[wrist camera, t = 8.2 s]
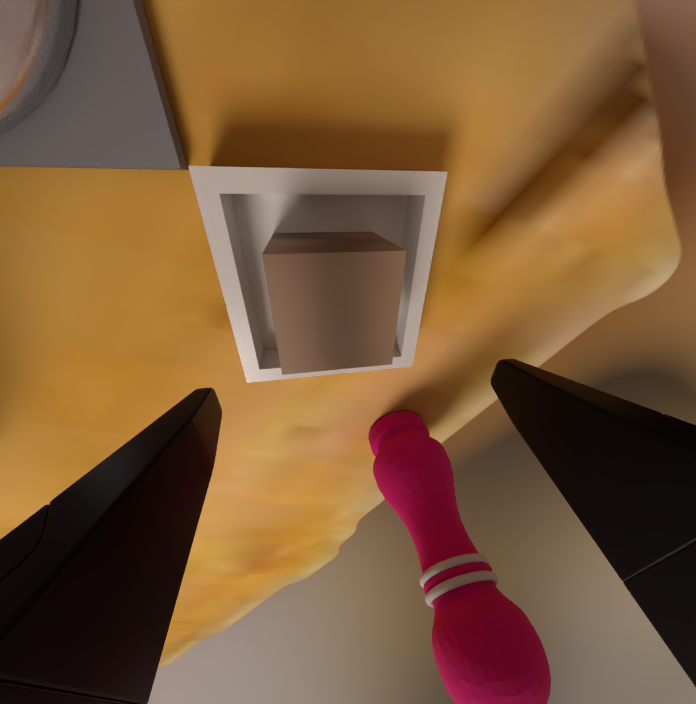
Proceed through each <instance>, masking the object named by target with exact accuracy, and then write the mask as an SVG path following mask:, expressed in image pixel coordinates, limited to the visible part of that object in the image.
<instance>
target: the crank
mask: <svg viewBox="0 0 696 704" xmlns="http://www.w3.org/2000/svg"><path fill="white" fill-rule="evenodd" d="M76 3H77V0H0V134H2V133H4V132H7V131H9V130H11V129H13V128H14V127H15V126H17V125H18V124H19V123H21V122H22V121H23V120H25V119H26V118H28V117H29V116H30V115H32V114H33V112H34V111H35V110H36V109H37V108H38V107H39V105H40V104H41V103H42V102H43V101H44V100H45V98H46V97H47V96H48V95H49V94H50V92H51V90H52V88H53V86H54V84H55V82H56V80H57V78H58V76H59V74H60V72H61V71H62V69H63V66H64V63H65V59H66V56H67V52H68V49H69V46H70V42H71V39H72V35H73V27H74V19H75V11H76Z"/></svg>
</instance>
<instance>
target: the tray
mask: <svg viewBox="0 0 696 704" xmlns="http://www.w3.org/2000/svg"><path fill="white" fill-rule="evenodd" d="M188 167H189V171H190V174H191V178H192V182H193V185H194V189H195V193H196V196H197V200H198V204H199V208H200V211H201V215H202V219H203V222H204V226H205V230H206V233H207V237H208V241H209V244H210V248H211V252H212V256H213V259H214V263H215V267H216V270H217V274H218V278H219V281H220V285H221V289H222V292H223V296H224V300H225V303H226V307H227V311H228V315H229V318H230V322H231V326H232V329H233V333H234V337H235V340H236V344H237V348H238V351H239V355H240V359H241V363H242V366H243V370H244V374H245V377H246V381H247V383H250V382H260V381H270V380H280V379H290V378H300V377H311V376H321V375H331V374H341V373H351V372H361V371H371V370H381V369H391V368H401V367H412V366H413V360H414V355H415V349H416V344H417V338H418V333H419V327H420V322H421V316H422V311H423V305H424V300H425V294H426V289H427V283H428V278H429V272H430V267H431V261H432V256H433V250H434V245H435V239H436V234H437V228H438V223H439V217H440V212H441V206H442V201H443V195H444V190H445V184H446V179H447V173H448V172H441V171H396V170H352V169H307V168H262V167H218V166H188ZM309 232H373V233H375V234H377V235H379V236H381V237H383V238H384V239H386V240H388V241H390V242H392V243H393V244H395V245H397V246H399V247H401V248H403V249H404V250H406V259H405V267H404V275H403V282H402V290H401V298H400V306H399V314H398V321H397V329H396V337H395V345H394V353H393V361H392V364H391V365H380V366H370V367H359V368H349V369H338V370H328V371H318V372H307V373H297V374H286V375H282V371H281V365H280V359H279V353H278V347H277V341H276V335H275V329H274V324H273V318H272V312H271V306H270V300H269V294H268V288H267V282H266V276H265V270H264V264H263V258H262V253H263V251H264V250H265V248H266V246H267V244H268V242H269V240H270V238H271V237H272V235H273V233H309Z"/></svg>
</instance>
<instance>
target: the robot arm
mask: <svg viewBox="0 0 696 704" xmlns="http://www.w3.org/2000/svg"><path fill="white" fill-rule="evenodd" d="M491 385H492V387H493V389H494V391H495V393H496V395H497V396H498V398H499V400H500V401H501V403H502V405H503V407H504V409H505V410H506V412H507V414H508V416H509V418H510V419H511V421H512V423H513V424H514V426H515V427H516V429H517V430H518V432H519V433H520V435H521V436H522V437H523V439H524V440H525V442H526V443H527V445H528V446H529V447H530V449H531V450H532V452H533V453H534V455H535V456H536V458H537V459H538V461H539V462H540V463H541V465H542V466H543V468H544V469H545V471H546V472H547V473H548V475H549V476H550V478H551V479H552V481H553V482H554V484H555V485H556V486H557V488H558V489H559V491H560V492H561V494H562V495H563V496H564V498H565V499H566V501H567V502H568V504H569V505H570V506H571V508H572V509H573V511H574V512H575V514H576V515H577V517H578V518H579V519H580V521H581V522H582V524H583V525H584V527H585V528H586V530H587V531H588V532H589V534H590V535H591V537H592V538H593V540H594V541H595V542H596V544H597V545H598V547H599V548H600V549H601V551H602V552H603V554H604V555H605V557H606V558H607V560H608V561H609V563H610V564H611V565H612V567H613V568H614V570H615V571H616V573H617V574H618V576H619V577H620V578H621V579H622V581H624V584H625V586H626V587H627V589H628V590H629V592H630V593H631V595H632V596H633V598H634V599H635V600H636V602H637V603H638V605H639V606H640V608H641V609H642V610H643V612H644V613H645V615H646V616H647V618H648V619H649V621H650V622H651V623H652V625H653V626H654V628H655V629H656V631H657V632H658V634H659V635H660V636H661V638H662V639H663V641H664V642H665V644H666V645H667V647H668V648H669V649H670V651H671V652H672V654H673V655H674V657H675V658H676V659H677V661H678V662H679V664H680V665H681V666H682V668H683V670H684V671H685V672H686V674H687V675H688V677H689V678H690V680H691V681H692V682H693V684H694V685H695V687H696V425H693V424H691V423H688V422H685V421H682V420H680V419H677V418H674V417H672V416H669V415H665V414H664V415H663V414H662V413H660V412H658V411H655V410H652V409H649V408H646V407H644V406H641V405H638V404H636V403H633V402H630V401H627V400H625V399H622V398H619V397H617V396H614V395H611V394H608V393H605V392H603V391H600V390H597V389H595V388H592V387H589V386H586V385H583V384H581V383H578V382H575V381H573V380H570V379H567V378H564V377H562V376H559V375H556V374H553V373H551V372H548V371H545V370H543V369H539V368H537V367H534V366H532V365H529V364H526V363H523V362H521V361H518V360H515V359H502V360H500V361H499V362H498V363H497V365H496V367H495V370H494V372H493V375H492V377H491ZM221 418H222V410H221V406H220V404H219V401H218V398H217V395H216V393H215V391H214V389H213V388H201V389H196V390H195V391H193V392H192V393H191V394H189V395H188V396H187V397H185V398H184V399H183V400H182V401H180V402H179V403H178V404H176V405H175V406H174V407H172V408H171V409H170V410H169V411H167V412H166V413H165V414H163V415H162V416H161V417H159V418H158V419H157V420H156V421H154V422H153V423H152V424H150V425H149V426H148V427H146V428H145V429H144V430H143V431H141V432H140V433H139V434H137V435H136V436H135V437H133V438H132V439H131V440H130V441H128V442H127V443H126V444H124V445H123V446H122V447H120V448H119V449H118V450H117V451H115V452H114V453H113V454H111V455H110V456H109V457H107V458H106V459H105V460H104V461H102V462H101V463H100V464H98V465H97V466H96V467H94V468H93V469H92V470H91V471H89V472H88V473H87V474H85V475H84V476H83V477H81V478H80V479H79V480H78V481H76V482H75V483H74V484H72V485H71V486H70V487H68V488H67V489H66V490H65V491H63V492H62V493H61V494H59V495H58V496H57V497H55V498H54V499H53V500H52V501H51V502H50V505H45V506H44V507H42V508H41V509H40V510H38V511H37V512H36V513H35V514H33V515H32V516H31V517H29V518H28V519H27V520H25V521H24V522H23V523H22V524H20V525H19V526H18V527H16V528H15V529H14V530H12V531H11V532H10V533H8V534H7V535H6V536H4V537H3V538H2V539H0V704H147V703H148V700H149V697H150V693H151V690H152V686H153V682H154V679H155V675H156V672H157V668H158V665H159V661H160V657H161V654H162V650H163V647H164V643H165V640H166V636H167V632H168V629H169V625H170V622H171V618H172V614H173V611H174V607H175V604H176V600H177V597H178V593H179V589H180V586H181V582H182V579H183V575H184V572H185V568H186V564H187V561H188V557H189V554H190V550H191V547H192V543H193V539H194V536H195V532H196V529H197V525H198V521H199V518H200V514H201V511H202V507H203V504H204V500H205V496H206V493H207V489H208V486H209V482H210V479H211V475H212V471H213V467H214V462H215V456H216V450H217V443H218V437H219V431H220V424H221Z"/></svg>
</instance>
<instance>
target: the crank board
mask: <svg viewBox="0 0 696 704" xmlns="http://www.w3.org/2000/svg"><path fill="white" fill-rule="evenodd" d="M0 166H13V167H63V168H112V169H162V170H188V168H187V164H186V161H185V157H184V153H183V150H182V146H181V142H180V139H179V135H178V131H177V128H176V124H175V120H174V117H173V113H172V109H171V106H170V102H169V98H168V95H167V91H166V87H165V84H164V80H163V76H162V73H161V69H160V65H159V62H158V58H157V54H156V51H155V47H154V43H153V40H152V36H151V32H150V29H149V25H148V21H147V18H146V14H145V10H144V7H143V3H142V0H77V3H76V11H75V19H74V27H73V35H72V39H71V42H70V46H69V49H68V52H67V56H66V59H65V63H64V66H63V69H62V71H61V72H60V74H59V76H58V78H57V80H56V82H55V84H54V86H53V88H52V90H51V92H50V94H49V95H48V96H47V97H46V98H45V100H44V101H43V102H42V103H41V104H40V105H39V107H38V108H37V109H36V110H35V111H34V112H33V114H32V115H30V116H29V117H28V118H26V119H25V120H23V121H22V122H21V123H19V124H18V125H17V126H15V127H14V128H13V129H11V130H9V131H7V132H4V133H2V134H0Z"/></svg>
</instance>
